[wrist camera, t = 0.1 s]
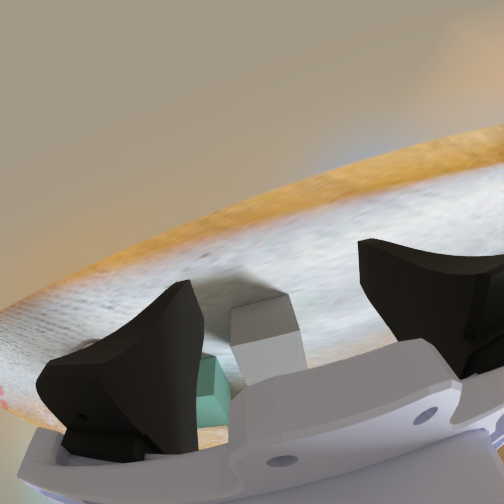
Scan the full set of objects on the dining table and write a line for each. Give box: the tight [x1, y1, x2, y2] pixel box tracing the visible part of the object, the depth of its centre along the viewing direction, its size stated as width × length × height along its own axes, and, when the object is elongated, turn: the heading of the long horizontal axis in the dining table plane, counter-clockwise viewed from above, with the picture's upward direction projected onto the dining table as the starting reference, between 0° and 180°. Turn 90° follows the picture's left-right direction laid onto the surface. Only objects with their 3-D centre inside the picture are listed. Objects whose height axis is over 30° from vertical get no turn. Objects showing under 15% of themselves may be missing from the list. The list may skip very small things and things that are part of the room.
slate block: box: [230, 295, 308, 386], centre depth 22 cm, size 5×5×5 cm
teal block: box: [196, 356, 231, 428], centre depth 25 cm, size 5×5×5 cm
